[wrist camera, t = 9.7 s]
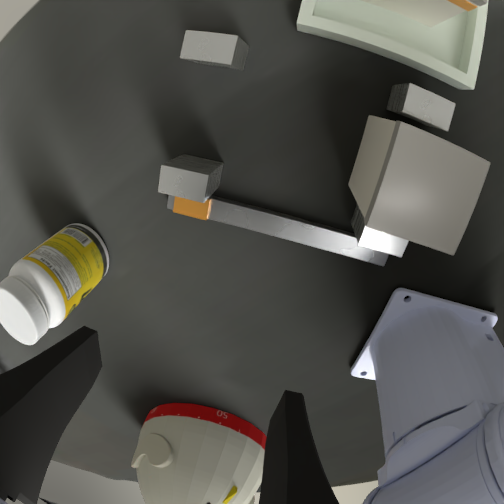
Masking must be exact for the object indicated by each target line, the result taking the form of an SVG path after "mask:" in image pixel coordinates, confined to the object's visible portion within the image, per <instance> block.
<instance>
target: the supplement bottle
mask: <svg viewBox="0 0 504 504" xmlns="http://www.w3.org/2000/svg"><path fill="white" fill-rule="evenodd" d="M108 268H109V255H108V251H107V248H106V246H105V244H104V242H103V241H102V239H101V238H100V236H99V235H98V234H97V233H96V232H95V231H94V230H93V229H91V228H90V227H88V226H86V225H84V224H79V223H74V224H70V225H68V226H66V227H65V228H63V229H62V230H60V231H59V232H57V233H56V234H55V235H53V236H52V237H50V238H49V239H48V240H46V241H45V242H43V243H42V244H41V245H39V246H38V247H37V248H35V249H34V250H32V251H31V252H30V253H28V254H27V255H26V256H24V257H23V258H22V259H20V260H19V261H18V262H17V263H15V264H14V265H13V267H12V268H11V270H10V273H9V276H8V277H7V278H5V279H4V280H3V281H2V282H1V283H0V323H1V324H2V325H3V327H4V328H5V329H6V330H7V332H8V333H9V334H10V335H11V336H13V337H14V338H15V339H16V340H18V341H19V342H21V343H23V344H26V345H33V344H35V343H36V342H37V341H38V340H39V339H40V338H41V337H42V336H43V335H44V334H45V333H46V332H47V330H48V328H53V327H56V326H58V325H59V324H60V323H62V322H63V320H64V319H65V318H66V317H67V316H68V315H69V314H70V313H71V312H72V311H73V309H74V308H75V307H76V306H77V305H78V304H79V303H80V302H81V301H82V299H83V298H84V297H85V296H86V295H87V294H88V293H89V292H90V291H91V290H92V289H93V288H94V287H95V286H96V285H97V284H98V283H99V281H100V280H101V279H102V278H103V277H104V276H105V274H106V273H107V271H108Z"/></svg>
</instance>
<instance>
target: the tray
mask: <svg viewBox="0 0 504 504" xmlns="http://www.w3.org/2000/svg"><path fill="white" fill-rule="evenodd" d="M487 9H488V0H487V4H485V5H482V6H477V8H475V9H473V10H471V11H464V12H462V13H460V14H458V15H456V16H454V17H451V18H449V19H447V20H445V21H443V22H441V23H439V24H437V25H435V26H433V27H429V26H427V25H424V24H422V23H420V22H417V21H415V20H413V19H410V18H408V17H406V16H403V15H401V14H398V13H395V12H393V11H390V10H388V9H385V8H382V7H379V6H376V5H373V4H370V3H367V2H364V1H361V0H302V3H301V7H300V11H299V15H298V19H297V31H300V32H304V33H308V34H312V35H316V36H320V37H324V38H328V39H331V40H335V41H338V42H342V43H345V44H348V45H352V46H355V47H358V48H361V49H364V50H367V51H370V52H373V53H376V54H379V55H381V56H384V57H387V58H389V59H392V60H395V61H397V62H400V63H402V64H405V65H407V66H410V67H412V68H414V69H417V70H419V71H421V72H424V73H426V74H428V75H430V76H433V77H435V78H437V79H439V80H441V81H443V82H445V83H447V84H449V85H451V86H453V87H455V88H457V89H459V90H474V87H475V83H476V78H477V73H478V68H479V63H480V58H481V52H482V46H483V40H484V33H485V26H486V18H487Z"/></svg>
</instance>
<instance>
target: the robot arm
mask: <svg viewBox="0 0 504 504" xmlns="http://www.w3.org/2000/svg"><path fill="white" fill-rule="evenodd" d="M406 296H409V298H407V299H404V298H405V297H406ZM482 317H483V318H482ZM481 318H482V319H481ZM497 319H498V317H497V315H496V314H495V313H492V312H489V311H485V310H481V309H478V308H474V307H471V306H467V305H463V304H460V303H456V302H452V301H449V300H445V299H442V298H438V297H434V296H431V295H427V294H423V293H420V292H416V291H412V290H409V289H405V288H397V289H396V290H395V291H394V292H393V294H392V296H391V298H390V299H389V301H388V303H387V305H386V307H385V309H384V311H383V313H382V315H381V317H380V319H379V320H378V322H377V324H376V326H375V328H374V330H373V331H372V333H371V335H370V337H369V339H368V340H367V342H366V344H365V346H364V347H363V349H362V351H361V352H360V354H359V356H358V358H357V359H356V361H355V363H354V364H353V366H352V368H351V374H352V375H353V376H356V377H361V378H367V379H373V380H376V386H377V393H378V399H379V407H380V414H381V422H382V431H383V439H384V449H385V459H386V462H385V465H384V466H383V467H382V468H380V469H379V470H378V484H379V486H378V487H377V488H375V489H374V490H373V491H372V492H371V493H370V494H369V495H368V496H367V497H366V499H365V500H364V502H363V504H504V348H503V346H502V344H501V342H500V341H499V339H498V337H497V335H496V334H495V332H494V330H493V329H492V328H493V327H494V325H495V323H496V322H497ZM101 367H102V361H101V355H100V348H99V341H98V334H97V331H95V330H93V329H90V328H88V327H86V326H83V327H82V328H80V329H78V330H77V331H75V332H74V333H72V334H71V335H69V336H67V337H66V338H64V339H63V340H61V341H60V342H58V343H57V344H55V345H53V346H52V347H50V348H49V349H47V350H45V351H44V352H42V353H41V354H39V355H37V356H36V357H34V358H32V359H30V360H28V361H27V362H25V363H23V364H21V365H19V366H17V367H15V368H13V369H11V370H9V371H7V372H5V373H3V374H0V504H7V503H6V502H5V500H6V498H9V499H10V500H12V501H13V502H15V500H16V499H18V500H19V501H21V502H22V503H24V504H37V500H38V497H39V493H40V489H41V486H42V483H43V480H44V477H45V474H46V471H47V468H48V465H49V463H50V460H51V458H52V455H53V453H54V451H55V448H56V446H57V444H58V442H59V440H60V437H61V435H62V433H63V432H64V430H65V428H66V426H67V425H68V423H69V422H70V420H71V418H72V417H73V415H74V414H75V412H76V411H77V409H78V408H79V406H80V405H81V403H82V402H83V400H84V399H85V397H86V395H87V394H88V392H89V391H90V389H91V388H92V386H93V384H94V382H95V380H96V378H97V376H98V374H99V372H100V370H101ZM363 371H365V372H363ZM259 504H339V502H338V500H337V499H336V497H335V495H334V493H333V490H332V488H331V486H330V484H329V482H328V479H327V477H326V475H325V472H324V469H323V467H322V464H321V461H320V459H319V456H318V453H317V450H316V446H315V443H314V440H313V436H312V433H311V429H310V425H309V421H308V417H307V412H306V407H305V402H304V396H303V395H302V393H297V392H292V391H288V390H285V392H284V394H283V396H282V398H281V400H280V402H279V404H278V406H277V408H276V410H275V412H274V414H273V415H272V417H271V419H270V424H269V429H268V433H267V438H266V443H265V453H264V463H263V473H262V483H261V493H260V500H259Z"/></svg>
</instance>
